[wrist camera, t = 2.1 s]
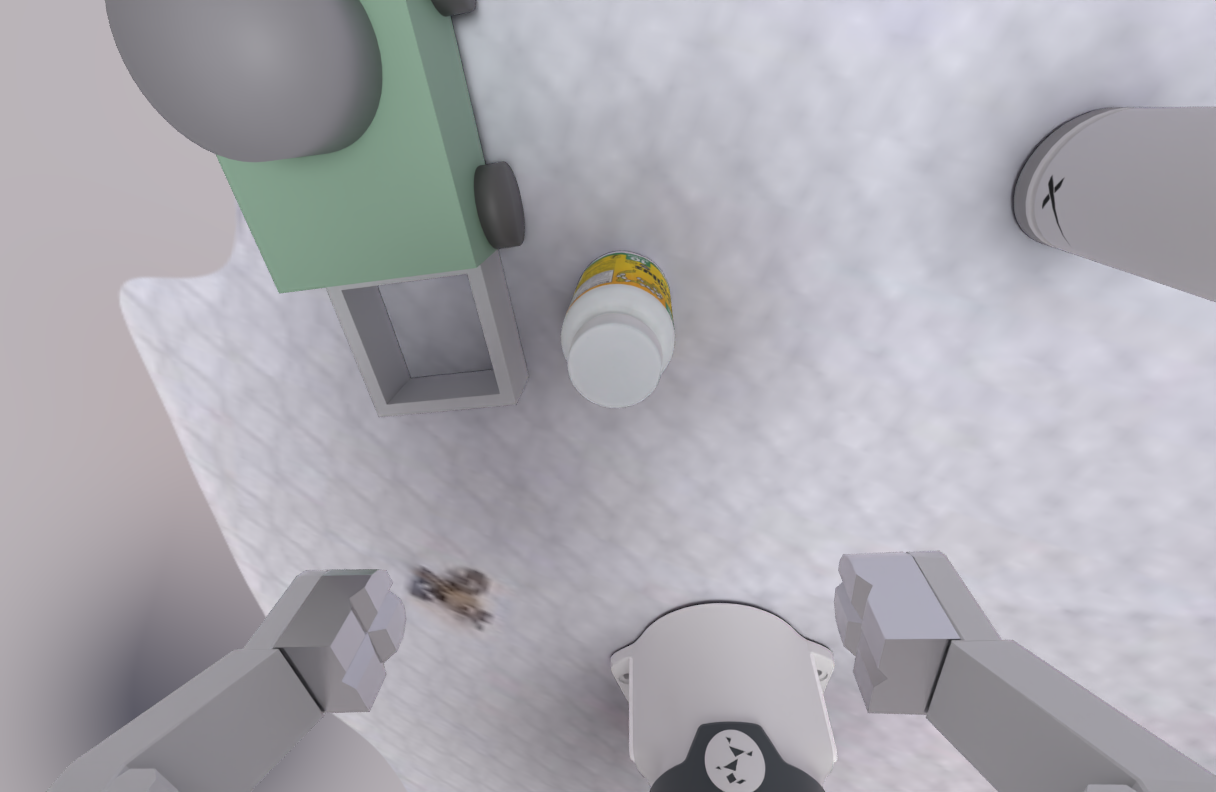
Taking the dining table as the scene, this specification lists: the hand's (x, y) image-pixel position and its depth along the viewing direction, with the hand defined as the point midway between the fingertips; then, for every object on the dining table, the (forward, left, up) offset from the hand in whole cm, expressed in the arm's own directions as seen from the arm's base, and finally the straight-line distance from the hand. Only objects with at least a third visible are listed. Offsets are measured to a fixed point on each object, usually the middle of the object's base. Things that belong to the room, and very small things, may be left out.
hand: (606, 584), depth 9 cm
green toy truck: (+5, +12, -22) cm, 26 cm away
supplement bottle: (-2, +1, -23) cm, 23 cm away
